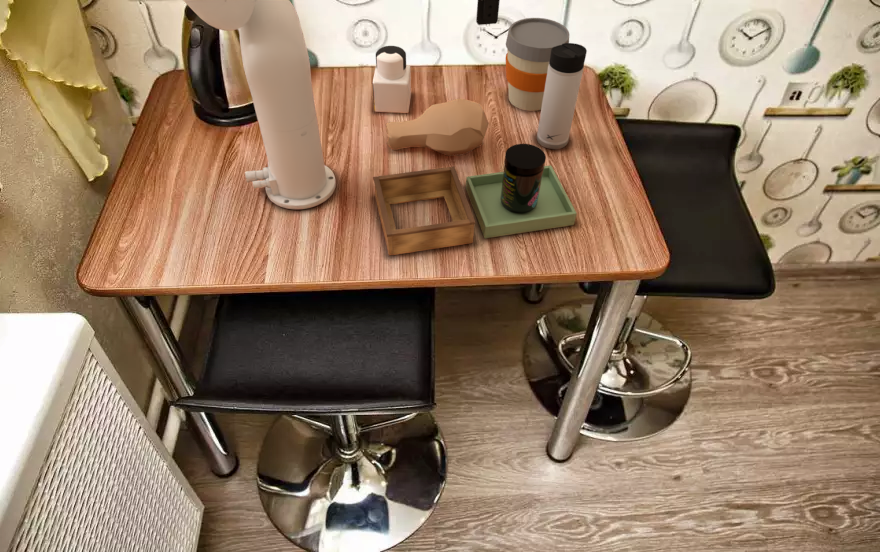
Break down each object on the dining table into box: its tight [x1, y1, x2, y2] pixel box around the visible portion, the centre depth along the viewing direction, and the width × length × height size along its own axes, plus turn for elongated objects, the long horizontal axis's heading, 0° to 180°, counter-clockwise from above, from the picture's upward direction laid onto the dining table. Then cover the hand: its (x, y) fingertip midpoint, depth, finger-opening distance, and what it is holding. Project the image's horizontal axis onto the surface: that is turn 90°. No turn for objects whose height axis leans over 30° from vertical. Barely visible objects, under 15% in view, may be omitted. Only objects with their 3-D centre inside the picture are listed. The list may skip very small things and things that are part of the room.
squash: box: [385, 98, 490, 157], centre depth 120 cm, size 11×20×9 cm, turn 94°
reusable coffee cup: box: [505, 17, 570, 112], centre depth 128 cm, size 13×12×15 cm
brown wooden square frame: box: [372, 166, 476, 256], centre depth 107 cm, size 15×15×5 cm
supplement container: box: [500, 143, 547, 214], centre depth 107 cm, size 7×7×10 cm
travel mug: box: [536, 42, 588, 150], centre depth 117 cm, size 6×7×20 cm
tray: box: [465, 164, 578, 239], centre depth 111 cm, size 16×13×3 cm
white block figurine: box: [372, 45, 412, 114], centre depth 127 cm, size 7×7×12 cm
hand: (478, 8), depth 97 cm, fingers open, 9 cm apart
